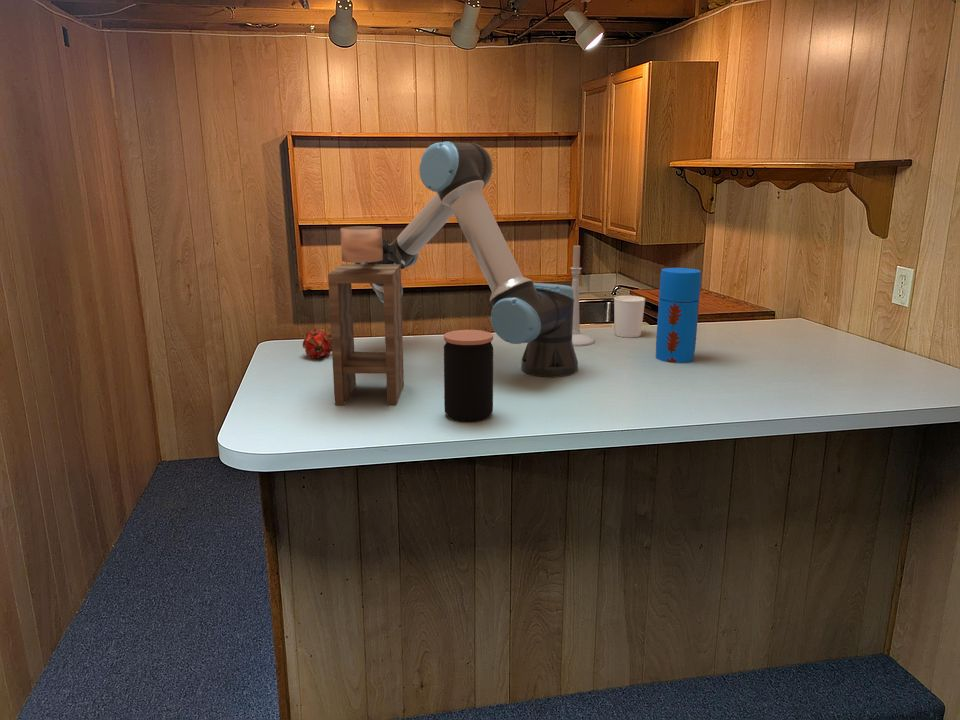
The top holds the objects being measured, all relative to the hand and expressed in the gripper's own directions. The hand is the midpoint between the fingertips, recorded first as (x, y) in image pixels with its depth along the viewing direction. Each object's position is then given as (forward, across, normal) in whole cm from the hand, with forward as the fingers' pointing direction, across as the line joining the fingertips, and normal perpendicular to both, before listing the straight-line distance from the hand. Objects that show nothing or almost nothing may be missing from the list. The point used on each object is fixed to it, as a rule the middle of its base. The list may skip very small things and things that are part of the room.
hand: (369, 236), depth 171 cm
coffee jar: (0, -24, -43) cm, 49 cm away
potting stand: (-12, 0, -36) cm, 37 cm away
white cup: (-67, -73, -4) cm, 99 cm away
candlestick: (-59, -55, -9) cm, 81 cm away
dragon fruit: (-42, +20, -18) cm, 50 cm away
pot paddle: (0, 0, -5) cm, 5 cm away
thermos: (-42, -81, -19) cm, 93 cm away
